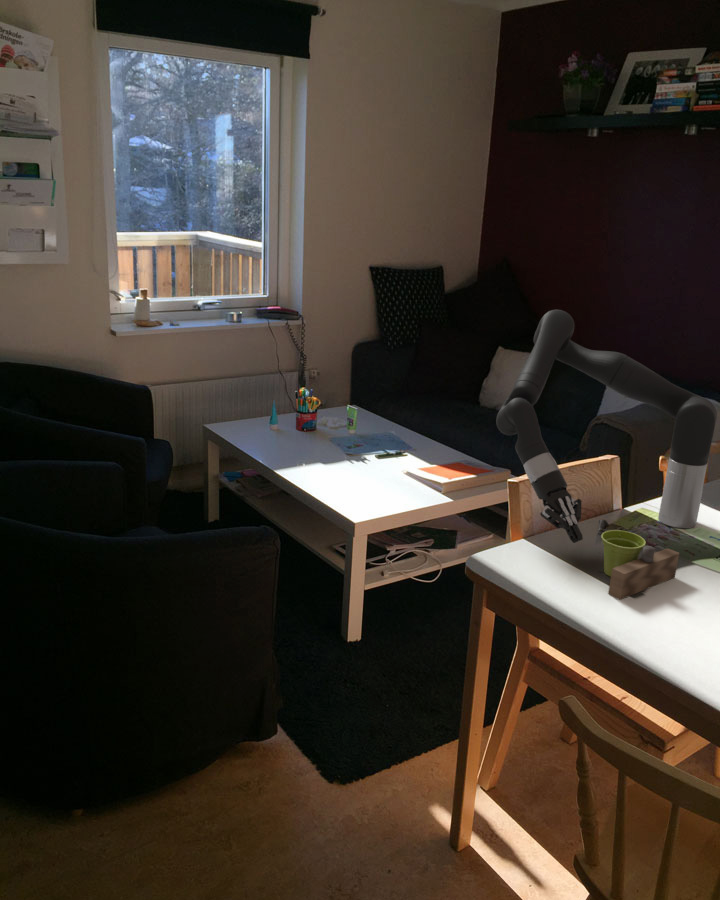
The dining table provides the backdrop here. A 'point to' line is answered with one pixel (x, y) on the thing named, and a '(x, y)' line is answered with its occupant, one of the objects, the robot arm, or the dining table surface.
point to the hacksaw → (601, 529)
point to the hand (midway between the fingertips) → (578, 541)
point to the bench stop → (643, 572)
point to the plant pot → (620, 548)
